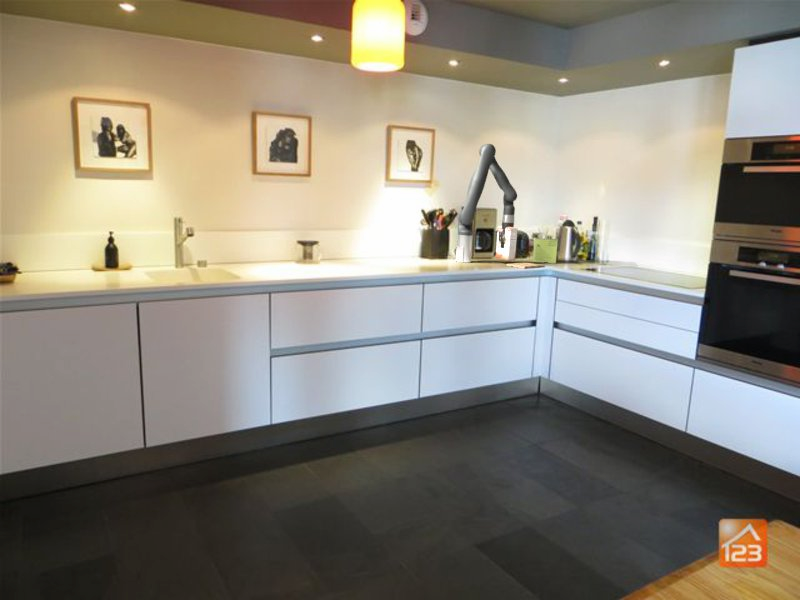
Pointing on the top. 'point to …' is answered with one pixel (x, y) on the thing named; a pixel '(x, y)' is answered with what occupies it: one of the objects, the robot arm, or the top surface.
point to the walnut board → (525, 265)
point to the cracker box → (507, 243)
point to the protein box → (545, 250)
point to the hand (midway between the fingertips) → (505, 247)
